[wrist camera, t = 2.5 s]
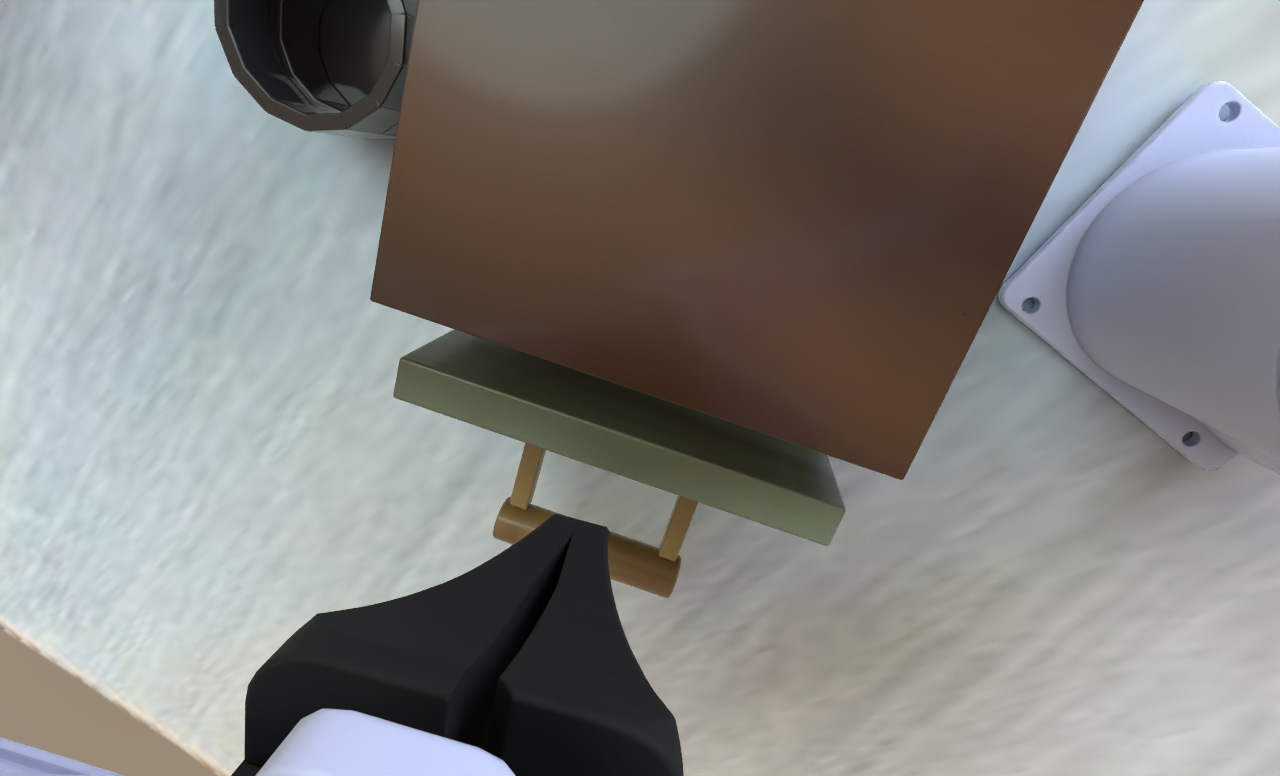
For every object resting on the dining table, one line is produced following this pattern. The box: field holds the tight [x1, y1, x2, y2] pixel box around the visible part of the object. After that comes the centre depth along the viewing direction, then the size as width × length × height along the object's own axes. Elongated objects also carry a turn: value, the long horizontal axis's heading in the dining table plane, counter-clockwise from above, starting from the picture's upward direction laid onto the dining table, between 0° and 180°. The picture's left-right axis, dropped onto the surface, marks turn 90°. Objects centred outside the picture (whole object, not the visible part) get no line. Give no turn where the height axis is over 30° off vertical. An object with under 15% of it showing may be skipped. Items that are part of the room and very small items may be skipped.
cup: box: [214, 0, 418, 139], centre depth 19 cm, size 6×6×4 cm
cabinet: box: [370, 0, 1144, 480], centre depth 17 cm, size 13×13×8 cm
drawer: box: [393, 329, 845, 598], centre depth 19 cm, size 17×12×6 cm
